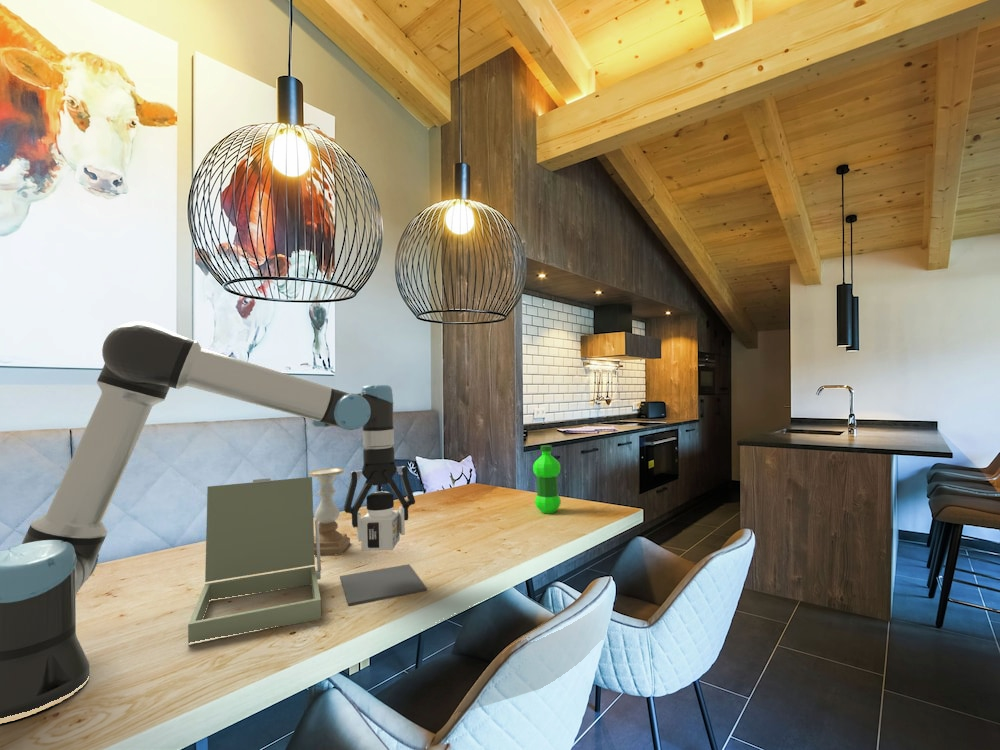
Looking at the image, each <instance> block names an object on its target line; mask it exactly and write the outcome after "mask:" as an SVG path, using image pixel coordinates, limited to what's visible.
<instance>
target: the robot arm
mask: <svg viewBox="0 0 1000 750" xmlns="http://www.w3.org/2000/svg"><path fill="white" fill-rule="evenodd" d="M101 350H102V359H103V362H104V364H103V366H102V369H101V371H100V373H99V376H98V378H97V380H96V384H97V385H98V387H99V388H100V391H101V394H100V397H99V398H98V401H97V403H96V405H95V407H94V409H93V412H92V414H91V416H90V418H89V420H88V423H87V425H86V427H85V429H84V431H83V434H82V436H81V438H80V440H79V442H78V444H77V447H76V448H75V451H74V454H73V455H72V457H71V459H70V462H69V463H68V467H67V469H66V471H65V473H64V475H63V478H62V480H61V482H60V484H59V486H58V488H57V491H56V492H55V495H54V498H53V499H52V501H51V504H50V506H49V508H48V510H47V512H46V514H45V515H42V516H41V517H38V518H36V519H35V520H32V522H30V525H29V527H28V530H27V531H26V534H25V535H24V537H23V540H22V542H21V544H18V545H14V546H11V547H8V548H7V549H5V550H0V718H4V717H7V716H10V715H11V716H12V715H15V714H19V713H22V712H27V711H30V710H32V709H35V708H39V707H40V706H43V705H45V704H47V703H49V702H51V701H54V700H57V699H59V698H60V697H63V696H65V695H67V694H69V693H71V692H72V691H74V690H75V689H76V688H78V687H79V686H80V685H82V684H83V683H84V682H85V681H86V680H87V678H88V676H89V677H90V663H89V662H90V661H89V660H88V658H87V656H86V654H85V651H84V649H83V647H82V646H81V643H80V641H79V639H78V637H77V633H76V632H77V631H76V629H77V628H76V627H77V626H76V625H77V624H76V622H77V621H76V618H77V617H76V615H77V613H76V607H77V605H76V604H77V603H76V597H77V594H78V592H79V590H81V588H82V586H83V585H84V584H85V583H86V581H87V580H89V578H90V577H91V575H92V574H93V572H94V571H95V569H96V567H97V564H98V562H99V555H100V554H99V553H100V551H101V549H102V546H103V543H104V542H105V540H106V537H107V534H108V529H107V528H106V526H105V525H104V523H103V521H104V518H105V516H106V514H107V511H108V509H109V507H110V505H111V502H112V500H113V498H114V496H115V494H116V491H117V488H118V486H119V483H120V481H121V479H122V477H123V475H124V473H125V470H126V468H127V465H129V464H128V463H129V461H130V459H131V456H132V454H133V452H134V450H135V447H136V445H137V443H138V440H139V438H140V436H141V433H142V431H143V429H144V427H145V424H146V422H147V420H148V417H149V415H150V412H151V410H152V408H153V407H154V406H155V405H158V404H159V403H162V402H163V401H165V399H166V397H167V395H168V393H169V391H170V388H173V389H176V390H179V389H182V388H185V387H189V388H194V389H197V390H201V391H204V392H209V393H212V394H215V395H220V396H222V397H228V398H230V399H234V400H238V401H242V402H246V403H250V404H253V405H256V406H260V407H264V408H268V409H271V410H275V411H278V412H279V411H280V412H283V413H287V414H289V415H290V414H291V415H294V416H298V417H302V418H305V419H309V420H310V421H311V424H312V426H314V427H315V428H316V427H317V428H318V427H319V428H322V427H323V428H327V427H337V428H341V429H343V430H348V431H353V430H355V431H356V430H358V429H360V428H362V446H363V447H364V449H363V450H362V452H363V453H362V455H363V458H362V459H363V460H362V461H363V465H362V468H361V470H351V471H350V482H349V486H348V491H347V494H346V498H345V501H344V505H343V506H344V507H343V511H344V513H346V514H351V526H352V527H353V528H356V540H357V542H359V543H360V542H361V519H362V514H361V512H360V509H361V507H362V505H363V503H364V501H365V500H366V497H367V496H368V495H369V494H368V493H369V492H370V490H371V488H372V487H373V486H379V485H382V486H383V485H387V484H388V486H389V487H390V489H391V490H392V491H393V493H394V494H395V496H396V497H397V500H398V501H399V502H400V504H401V506H398V511H399V532H400V536H405V535H406V531H405V530H406V528H405V521H408V519H409V508H410V507H411V506H412V505H415V504H416V500H415V496H414V493H413V489H412V486H411V484H410V480H409V476H408V470H409V469H408V467H407V466H405V465H401V466H396V464H395V463H396V462H395V447H393V445H395V436H394V434H395V433H394V431H395V430H394V399H393V397H394V396H393V389H392V387H391V386H390V385H387V384H380V385H379V384H377V385H375V384H374V385H364V386H362V387H361V391H360V393H349V392H347V391H342V390H339V389H336V388H335V389H334V388H331V387H329V386H326V385H323V384H319V383H316V382H312V381H311V380H306V379H303V378H301V377H297V376H294V375H290V374H287V373H284V372H281V371H278V370H274V369H271V368H268V367H265V366H261V365H258V364H255V363H251V362H248V361H246V360H242V359H237V358H236V357H232V356H230V355H229V356H228V355H225V354H222V353H218V352H215V351H212V350H208V349H205V348H202V346H201V345H200V343H199V342H198V340H195V339H191V338H189V337H185V336H182V335H180V334H177V333H175V332H173V331H170V330H168V329H166V328H164V327H162V326H159V325H157V324H156V323H155V324H154V323H152V322H147V321H133V322H128V323H125V324H121V325H119V326H118V327H115V328H114V329H113V330H112V331H111V332H110V333H109V334H107V336H106V338H105V340H104V342H103V345H102V348H101ZM396 472H397V474H398V475H400V478H401V480H402V485H403V487H404V490H405V493H406V494H405V495H406V498H407V499H406V498H405V497H404V495H403V494H402V493H401V491H400V489H399V488H398V486H397V484H396V482H395V481H394V480H393V477H394V476H395V474H396ZM361 476H363V477H364V478H365V479H366V480H365V482H364V483H363V486H362V489H361V490H360V492H359V494H358V496H357V498H356V499H355V502H354V504H353V500H354V496H355V492H356V488H357V485H358V480H360V479H361ZM352 504H353V505H352Z"/></svg>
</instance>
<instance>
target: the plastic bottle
mask: <svg viewBox="0 0 1000 750" xmlns="http://www.w3.org/2000/svg"><path fill="white" fill-rule="evenodd" d="M552 451H553V446H552V445H551V444H550V445H548V444H547V445H546V444H545V445H540V452H541V456H540V457H538V458H537V459H536V460H535V461H534V463H533V465H532V470H533V474H534V475H535V476H536V489H537V490H536V496H535V499H534V505H535V507H536V508H537V509H538V511H540V513H542V514H546V513H548V514H554V513H555V512H556V511H557V510H558V509H559V508H560V506H561V503H562V501H561V497H560V496H559V484H558V481H559V480H558V476H559V474H560V473H561V463H560V461H558V460H557V458H555V457H554V456H553V455H551V453H552Z"/></svg>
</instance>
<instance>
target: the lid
mask: <svg viewBox="0 0 1000 750" xmlns="http://www.w3.org/2000/svg"><path fill="white" fill-rule="evenodd" d="M206 488H207V490H206V491H207V492H206V497H207V498H206V500H207V501H206V529H205V530H206V532H205V533H206V536H205V569H204V570H205V571H204V572H205V573H204V574H205V575H204V577H205V578H204V582H205V583H208V582H210V583H211V582H215V581H216V582H217V581H223V580H226V579H227V580H229V579H236V578H242V577H248V576H254V575H261V574H265V573H266V574H267V573H273V572H280V571H286V570H292V569H298V568H305V567H311V566H313V565H314V566H315V564H316V563H315V559H316V557H315V556H314V536H315V533H314V530H315V529H314V527H315V525H314V524H315V523H314V498H313V496H314V495H313V494H314V493H313V491H314V490H313V477H311V476H309V477H308V476H307V477H298V478H297V477H296V478H286V479H275V480H274V479H273V480H271V478H269V477H268V478H260V479H252V482H244V483H232V484H231V483H230V484H222V485H209V486H207V487H206Z"/></svg>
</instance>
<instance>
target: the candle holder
mask: <svg viewBox="0 0 1000 750" xmlns="http://www.w3.org/2000/svg"><path fill="white" fill-rule="evenodd" d="M344 471H345V470H344V468H335V467H333V468H332V467H330V468H320V469H314V470H311V471H309V472H308V476H309V477H312V478H317V481H318V482H319V484H320V487H319V489H318V491H317V494H318V495H319V497H320V503H319V505H318V506H317V508H316V510H315V512H314V514H313V518H314V521H315V520H316V519H317V520H318V523H319V541H320V555H321V556H339V555H338V554H340V555H341V553H342V552H343V553H344V551H345V550H346V549H347V548H348V547H349V546H348V545H350V544H351V538H350V536H348V535H347V533H341V532H339V531H337V529H338V528H339V525H338V522H336V521H337V520H339V517H340V510H339V508H338V506H337V505H336V503H335V502H334V499H333V498H334V495H335V493H336V488H334V486H333V484H334V481H335V480H336V477H337V476H338V475H342V474H344V473H345V472H344ZM347 546H348V547H347ZM346 547H347V548H346ZM343 553H342V554H343ZM335 554H337V555H335ZM314 555H317V548H316V534H314Z"/></svg>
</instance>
